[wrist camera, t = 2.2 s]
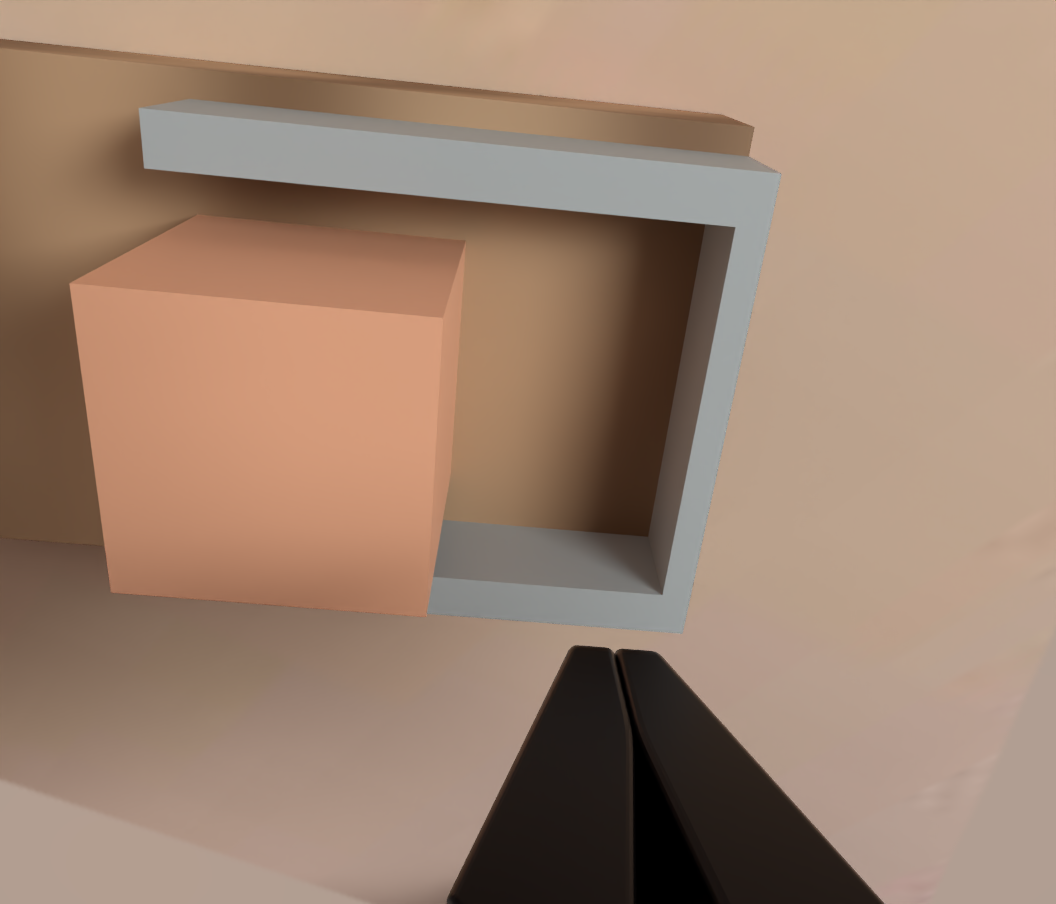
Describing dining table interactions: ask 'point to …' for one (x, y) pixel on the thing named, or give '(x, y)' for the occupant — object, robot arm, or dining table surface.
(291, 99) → the tray
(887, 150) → the dining table surface
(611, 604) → the grey u-shaped piece
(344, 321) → the block
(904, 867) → the dining table surface
